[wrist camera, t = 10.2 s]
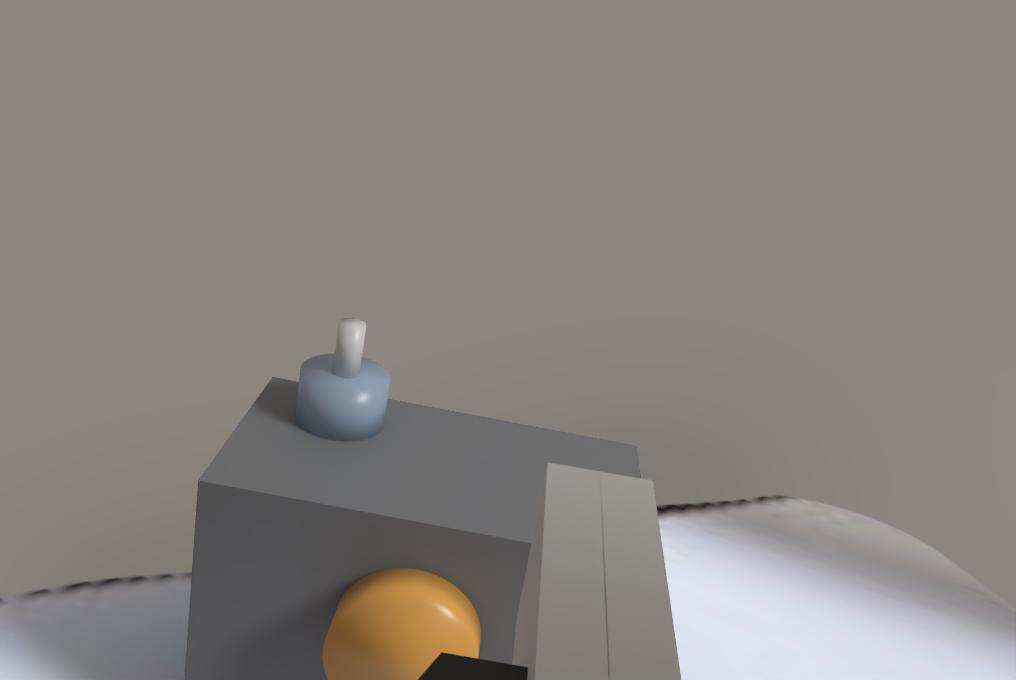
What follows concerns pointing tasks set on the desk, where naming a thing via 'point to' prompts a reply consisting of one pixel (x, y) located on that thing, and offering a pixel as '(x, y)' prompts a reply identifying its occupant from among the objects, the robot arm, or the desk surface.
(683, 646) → the desk surface
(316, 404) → the knob
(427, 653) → the knob
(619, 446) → the housing
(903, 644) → the desk surface
